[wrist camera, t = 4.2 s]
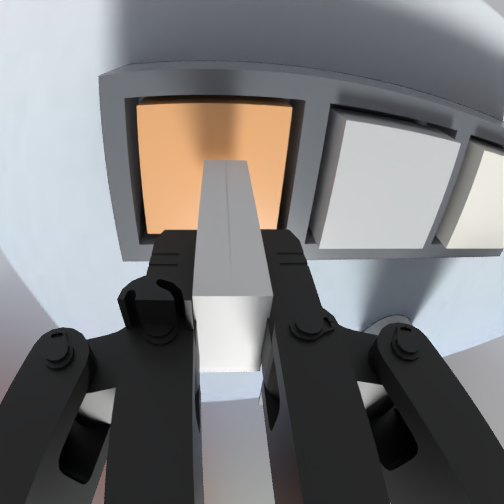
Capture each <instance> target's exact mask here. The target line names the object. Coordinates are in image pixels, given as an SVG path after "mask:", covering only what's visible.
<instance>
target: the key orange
mask: <svg viewBox="0 0 504 504" xmlns="http://www.w3.org/2000/svg"><path fill="white" fill-rule="evenodd" d="M292 108H293V107H292V106H291V105H290V104H289V103H288V102H287V101H286V100H285V99H283V98H276V97H261V96H242V95H165V96H146V97H145V98H144V99H143V100H142V101H141V102H140V103H139V104H138V105H137V126H138V142H139V156H140V169H141V180H142V190H143V200H144V208H145V217H146V225H147V233H148V234H161V233H162V232H163V231H164V230H197V227H198V216H199V205H200V195H201V185H202V176H203V167H204V160H243V161H247V164H248V169H249V174H250V179H251V184H252V189H253V194H254V199H255V204H256V209H257V215H258V220H259V225H260V229H277V222H278V215H279V207H280V200H281V193H282V186H283V178H284V171H285V163H286V156H287V148H288V140H289V132H290V124H291V116H292Z"/></svg>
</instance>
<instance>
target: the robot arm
mask: <svg viewBox="0 0 504 504" xmlns="http://www.w3.org/2000/svg"><path fill="white" fill-rule="evenodd" d="M117 300H118V304H119V307H120V310H121V313H122V317H123V320H124V323H125V326H126V327H125V328H123V329H121V330H120V331H118V332H115V333H112V334H109V335H105V336H101V337H97V338H92V339H88V340H86V339H85V337H84V336H83V334H82V333H80V332H78V331H77V330H75V329H72V328H64V327H62V328H58V329H53V330H51V331H49V332H47V333H46V334H44V335H42V336H41V338H40V339H39V340H38V341H37V342H36V343H35V344H34V346H33V348H32V350H31V351H30V353H29V354H28V356H27V358H26V359H25V361H24V363H23V365H22V366H21V368H20V369H19V371H18V373H17V375H16V377H15V378H14V380H13V382H12V384H11V385H10V387H9V389H8V391H7V393H6V395H5V397H4V398H3V400H2V402H1V404H0V504H91V503H92V500H93V497H94V494H95V491H96V488H97V485H98V482H99V480H100V477H101V474H102V471H103V468H104V465H105V463H106V460H107V467H106V481H105V497H104V499H105V500H104V504H204V493H203V492H204V491H203V468H202V439H201V438H202V437H201V391H200V372H247V371H260V367H261V364H262V372H263V382H262V387H261V392H260V396H259V405H262V404H263V409H264V416H265V425H266V434H267V442H268V450H269V458H270V466H271V474H272V482H273V490H274V498H275V504H390V503H391V504H504V449H503V448H502V446H501V445H500V443H499V441H498V440H497V438H496V437H495V435H494V433H493V431H492V430H491V429H490V427H489V425H488V424H487V422H486V421H485V419H484V417H483V416H482V415H481V413H480V411H479V410H478V408H477V407H476V405H475V404H474V403H473V401H472V400H471V398H470V396H469V395H468V393H467V392H466V391H465V389H464V388H463V386H462V385H461V383H460V382H459V380H458V379H457V378H456V377H455V375H454V373H453V372H452V371H451V369H450V368H449V366H448V365H447V364H446V362H445V361H444V359H443V358H442V357H441V355H440V354H439V353H438V351H437V350H436V349H435V347H434V346H433V345H432V343H431V342H430V341H429V339H428V338H427V337H426V336H425V335H424V334H423V333H422V332H421V331H420V330H419V329H417V328H415V327H413V326H412V325H410V324H405V323H400V322H397V323H390V324H388V325H386V326H385V327H383V328H382V329H381V331H380V333H379V334H378V335H374V334H369V333H364V332H359V331H354V330H351V329H347V328H344V327H342V326H341V325H339V324H338V323H337V321H336V319H335V318H334V316H333V315H331V314H330V313H329V312H328V311H327V310H325V309H323V308H322V306H321V303H320V300H319V297H318V294H317V290H316V287H315V284H314V281H313V278H312V275H311V272H310V269H309V266H307V260H306V257H305V255H304V251H303V249H302V246H301V243H300V240H299V239H298V238H297V237H296V236H295V235H294V234H293V233H292V232H291V231H290V230H288V229H260V225H259V220H258V215H257V209H256V204H255V199H254V194H253V189H252V184H251V179H250V174H249V169H248V164H247V161H243V160H204V167H203V176H202V185H201V195H200V205H199V216H198V227H197V230H164V231H163V232H162V233H161V234H160V235H159V236H158V237H157V239H156V240H155V241H154V245H153V249H152V256H151V258H150V262H149V267H148V270H147V275H146V276H143V277H141V278H138V279H136V280H133V281H132V282H130V283H129V284H128V285H127V286H126V287H124V288H123V289H122V291H121V293H120V295H119V297H118V299H117Z"/></svg>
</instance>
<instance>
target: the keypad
mask: <svg viewBox="0 0 504 504" xmlns="http://www.w3.org/2000/svg"><path fill="white" fill-rule="evenodd" d="M99 95H100V110H101V123H102V134H103V143H104V152H105V161H106V168H107V176H108V183H109V189H110V196H111V202H112V208H113V214H114V219H115V225H116V230H117V235H118V240H119V245H120V250H121V255H122V259H123V261H150V258H151V256H152V249H153V245H154V241H155V240H156V239H157V237H158V236H159V235H160V234H148V233H147V225H146V217H145V208H144V200H143V190H142V180H141V169H140V156H139V142H138V126H137V105H138V104H139V103H140V102H141V101H142V100H143V99H144V98H145V97H146V96H165V95H242V96H261V97H276V98H283V99H285V100H286V101H287V102H288V103H289V104H290V105H291V106H292V107H293V108H292V116H291V124H290V132H289V140H288V148H287V156H286V163H285V171H284V178H283V186H282V193H281V200H280V207H279V215H278V222H277V229H288V230H290V231H291V232H292V233H293V234H294V235H295V236H296V237H297V238H298V239H299V240H300V243H301V246H302V249H303V251H304V255H305V257H306V260H342V259H400V258H448V257H489V256H500V254H501V252H502V251H503V249H446V248H445V247H444V245H443V244H442V243H441V242H440V240H439V239H438V238H437V237H436V236H435V234H436V231H437V229H438V227H439V224H440V222H441V219H442V217H443V214H444V212H445V209H446V207H447V204H448V202H449V199H450V196H451V194H452V191H453V188H454V185H455V182H456V180H457V177H458V174H459V171H460V168H461V165H462V162H463V159H464V155H465V152H466V149H467V146H468V142H469V139H470V138H472V139H475V140H478V141H481V142H485V143H488V144H491V145H494V146H496V147H499V148H502V149H504V122H503V121H500V120H498V119H496V118H493V117H491V116H489V115H486V114H484V113H481V112H479V111H476V110H474V109H471V108H468V107H466V106H463V105H460V104H457V103H455V102H452V101H449V100H446V99H443V98H440V97H437V96H434V95H430V94H427V93H424V92H420V91H417V90H413V89H410V88H406V87H402V86H399V85H395V84H391V83H387V82H383V81H378V80H374V79H369V78H365V77H360V76H355V75H350V74H344V73H339V72H333V71H327V70H320V69H314V68H306V67H298V66H290V65H280V64H269V63H256V62H238V61H170V62H152V63H139V64H128V65H125V66H123V67H120V68H117V69H115V70H112V71H110V72H107V73H105V74H102V75H100V76H99ZM330 108H335V109H342V110H349V111H355V112H361V113H367V114H373V115H378V116H384V117H389V118H394V119H398V120H403V121H408V122H412V123H416V124H421V125H425V126H429V127H433V128H437V129H439V130H440V131H442V132H444V133H445V134H447V135H448V136H450V137H452V138H453V139H455V140H456V141H458V142H459V143H461V145H460V148H459V152H458V155H457V158H456V161H455V164H454V168H453V171H452V174H451V177H450V179H449V182H448V185H447V188H446V191H445V194H444V196H443V199H442V202H441V204H440V207H439V210H438V212H437V215H436V217H435V220H434V222H433V225H432V227H431V230H430V232H429V235H428V237H427V239H426V242H425V244H424V246H423V249H319V248H318V246H317V243H316V241H315V239H314V237H313V234H312V232H311V230H310V227H309V225H308V224H309V219H310V214H311V209H312V204H313V199H314V194H315V189H316V184H317V178H318V173H319V167H320V162H321V156H322V151H323V145H324V139H325V133H326V127H327V121H328V115H329V109H330Z"/></svg>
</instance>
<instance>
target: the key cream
mask: <svg viewBox="0 0 504 504" xmlns="http://www.w3.org/2000/svg"><path fill="white" fill-rule="evenodd" d="M435 236H436V237H437V238H438V239H439V240H440V242H441V243H442V244H443V245H444V247H445V248H446V249H504V149H502V148H499V147H496V146H494V145H491V144H488V143H485V142H481V141H478V140H475V139H472V138H470V139H469V142H468V146H467V149H466V152H465V155H464V159H463V162H462V165H461V168H460V171H459V174H458V177H457V180H456V182H455V185H454V188H453V191H452V194H451V196H450V199H449V202H448V204H447V207H446V209H445V212H444V214H443V217H442V219H441V222H440V224H439V227H438V229H437V231H436V234H435Z"/></svg>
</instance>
